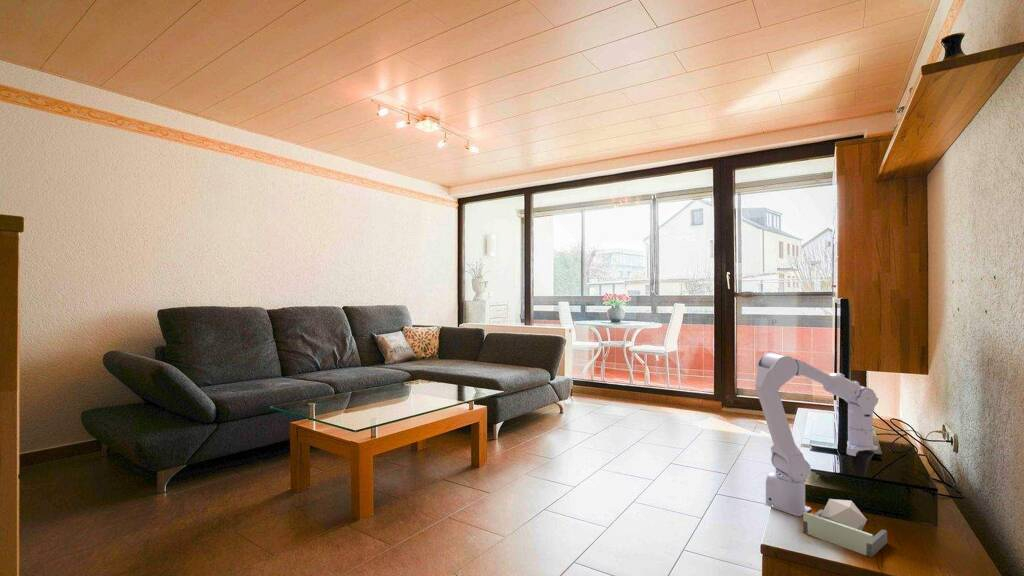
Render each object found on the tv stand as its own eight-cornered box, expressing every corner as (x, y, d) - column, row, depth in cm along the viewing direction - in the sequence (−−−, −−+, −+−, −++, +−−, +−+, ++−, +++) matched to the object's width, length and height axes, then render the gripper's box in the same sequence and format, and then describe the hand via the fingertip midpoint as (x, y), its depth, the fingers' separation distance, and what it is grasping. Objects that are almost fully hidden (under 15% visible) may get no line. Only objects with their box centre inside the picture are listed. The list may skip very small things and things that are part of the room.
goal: (803, 532, 124) (803, 512, 124) (820, 520, 131) (820, 501, 131) (871, 557, 112) (871, 535, 112) (887, 543, 119) (887, 522, 119)
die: (861, 549, 117) (878, 512, 119) (824, 525, 120) (841, 489, 122) (845, 545, 125) (861, 510, 127) (810, 522, 128) (826, 489, 130)
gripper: (867, 435, 130) (868, 486, 130) (885, 427, 139) (885, 474, 139) (838, 429, 136) (838, 478, 136) (856, 421, 145) (856, 467, 145)
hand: (860, 475), depth 138 cm, fingers closed
